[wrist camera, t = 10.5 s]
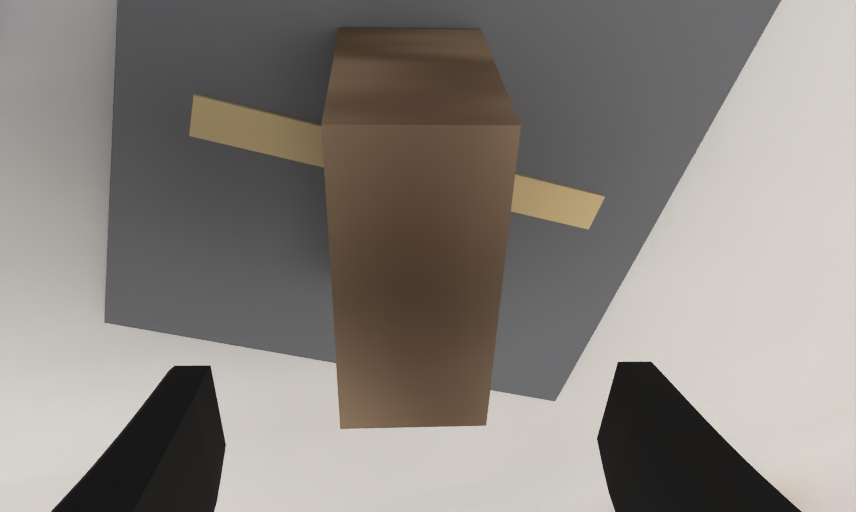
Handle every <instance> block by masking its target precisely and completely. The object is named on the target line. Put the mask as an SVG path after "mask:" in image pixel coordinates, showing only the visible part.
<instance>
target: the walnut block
mask: <svg viewBox="0 0 856 512" xmlns="http://www.w3.org/2000/svg"><path fill="white" fill-rule="evenodd" d="M321 126H322V142H323V158H324V174H325V190H326V206H327V222H328V238H329V254H330V270H331V285H332V301H333V317H334V333H335V349H336V365H337V381H338V397H339V413H340V429H349V428H393V427H438V426H482V425H486V421H487V412H488V404H489V395H490V386H491V378H492V369H493V361H494V352H495V343H496V335H497V326H498V318H499V309H500V301H501V292H502V283H503V275H504V266H505V258H506V249H507V241H508V232H509V223H510V215H511V206H512V198H513V189H514V181H515V172H516V163H517V155H518V146H519V138H520V129H521V125H520V122H519V120H518V117H517V115H516V113H515V110H514V108H513V105H512V103H511V100H510V98H509V96H508V93H507V91H506V88H505V86H504V84H503V81H502V79H501V76H500V74H499V72H498V69H497V67H496V64H495V62H494V60H493V57H492V55H491V52H490V50H489V48H488V45H487V43H486V40H485V38H484V35H483V33H482V31H481V30H473V29H407V28H341V27H339V30H338V36H337V41H336V47H335V52H334V58H333V63H332V69H331V74H330V80H329V85H328V91H327V96H326V102H325V107H324V113H323V118H322V124H321Z"/></svg>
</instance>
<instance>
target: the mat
mask: <svg viewBox="0 0 856 512" xmlns="http://www.w3.org/2000/svg"><path fill="white" fill-rule="evenodd" d="M780 1H781V0H118V7H117V32H116V56H115V80H114V104H113V129H112V153H111V177H110V201H109V225H108V250H107V274H106V298H105V323H110V324H116V325H122V326H128V327H133V328H139V329H145V330H150V331H156V332H162V333H168V334H173V335H179V336H185V337H191V338H196V339H202V340H208V341H213V342H219V343H225V344H231V345H236V346H242V347H248V348H253V349H259V350H265V351H271V352H276V353H282V354H288V355H294V356H299V357H305V358H311V359H316V360H322V361H328V362H334V363H336V349H335V333H334V317H333V301H332V285H331V270H330V254H329V238H328V222H327V206H326V190H325V174H324V158H323V142H322V126H321V124H322V118H323V113H324V107H325V102H326V96H327V91H328V85H329V80H330V74H331V69H332V63H333V58H334V52H335V47H336V41H337V36H338V30H339V27H341V28H407V29H473V30H481V31H482V33H483V35H484V38H485V40H486V43H487V45H488V48H489V50H490V52H491V55H492V57H493V60H494V62H495V64H496V67H497V69H498V72H499V74H500V76H501V79H502V81H503V84H504V86H505V88H506V91H507V93H508V96H509V98H510V100H511V103H512V105H513V108H514V110H515V113H516V115H517V117H518V120H519V122H520V125H521V129H520V138H519V146H518V155H517V163H516V172H515V181H514V189H513V198H512V206H511V215H510V223H509V232H508V241H507V249H506V258H505V266H504V275H503V283H502V292H501V301H500V309H499V318H498V326H497V335H496V343H495V352H494V361H493V369H492V378H491V386H490V390H494V391H500V392H505V393H511V394H517V395H523V396H528V397H534V398H540V399H545V400H551V401H555V400H556V399H557V397H558V395H559V393H560V392H561V390H562V388H563V386H564V385H565V383H566V381H567V379H568V377H569V376H570V374H571V372H572V370H573V369H574V367H575V365H576V363H577V361H578V360H579V358H580V356H581V354H582V353H583V351H584V349H585V347H586V345H587V344H588V342H589V340H590V338H591V337H592V335H593V333H594V331H595V330H596V328H597V326H598V324H599V322H600V321H601V319H602V317H603V315H604V314H605V312H606V310H607V308H608V306H609V305H610V303H611V301H612V299H613V298H614V296H615V294H616V292H617V290H618V289H619V287H620V285H621V283H622V282H623V280H624V278H625V276H626V274H627V273H628V271H629V269H630V267H631V266H632V264H633V262H634V260H635V259H636V257H637V255H638V253H639V251H640V250H641V248H642V246H643V244H644V243H645V241H646V239H647V237H648V235H649V234H650V232H651V230H652V228H653V227H654V225H655V223H656V221H657V219H658V218H659V216H660V214H661V212H662V211H663V209H664V207H665V205H666V203H667V202H668V200H669V198H670V196H671V195H672V193H673V191H674V189H675V188H676V186H677V184H678V182H679V180H680V179H681V177H682V175H683V173H684V172H685V170H686V168H687V166H688V164H689V163H690V161H691V159H692V157H693V156H694V154H695V152H696V150H697V148H698V147H699V145H700V143H701V141H702V140H703V138H704V136H705V134H706V132H707V131H708V129H709V127H710V125H711V124H712V122H713V120H714V118H715V117H716V115H717V113H718V111H719V109H720V108H721V106H722V104H723V102H724V101H725V99H726V97H727V95H728V93H729V92H730V90H731V88H732V86H733V85H734V83H735V81H736V79H737V77H738V76H739V74H740V72H741V70H742V69H743V67H744V65H745V63H746V62H747V60H748V58H749V56H750V54H751V53H752V51H753V49H754V47H755V46H756V44H757V42H758V40H759V38H760V37H761V35H762V33H763V31H764V30H765V28H766V26H767V24H768V22H769V21H770V19H771V17H772V15H773V14H774V12H775V10H776V8H777V6H778V5H779V3H780Z"/></svg>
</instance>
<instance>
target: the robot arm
mask: <svg viewBox="0 0 856 512" xmlns="http://www.w3.org/2000/svg"><path fill="white" fill-rule="evenodd" d="M597 440H598V445H599V450H600V455H601V460H602V464H603V469H604V473H605V478H606V482H607V486H608V490H609V494H610V497H611V500H612V503H613V506H614V509H615V512H801V511H800V510H799V509H798V508H797V507H795V506H794V505H793V504H792V503H791V502H790V501H789V500H788V499H787V498H785V497H784V496H783V495H782V494H781V493H780V492H779V491H778V490H777V489H776V488H774V487H773V486H772V485H771V484H770V483H769V482H768V481H767V480H766V479H765V478H764V477H762V476H761V475H760V474H759V473H758V472H757V471H756V470H755V469H754V468H753V467H752V466H751V465H750V464H749V463H748V462H747V461H746V460H745V459H744V458H743V457H742V456H741V455H740V454H739V453H738V452H737V451H736V450H735V449H734V448H733V447H732V446H731V445H730V444H729V443H728V442H727V441H726V440H725V439H724V438H723V437H722V436H721V435H720V434H719V433H718V432H717V431H716V430H715V429H714V428H713V427H712V426H711V425H710V424H709V423H708V422H707V421H706V420H705V419H704V418H703V417H702V416H701V414H700V413H699V412H698V411H697V410H696V409H695V408H694V407H693V406H692V405H691V404H690V403H689V402H688V401H687V400H686V398H685V397H684V396H683V395H682V394H681V393H680V392H679V391H678V390H677V389H676V388H675V387H674V386H673V385H672V383H671V382H670V381H669V380H668V379H667V378H666V377H665V376H664V375H663V374H662V373H661V372H660V371H659V369H658V368H657V367H656V366H655V365H654V364H653V363H652V362H618V364H617V368H616V372H615V375H614V379H613V383H612V386H611V390H610V394H609V397H608V401H607V405H606V408H605V412H604V416H603V419H602V423H601V427H600V430H599V434H598V438H597ZM225 446H226V444H225V439H224V434H223V429H222V424H221V418H220V413H219V408H218V403H217V398H216V392H215V387H214V382H213V377H212V372H211V366H174V367H173V368H172V369H171V370H169V371H168V373H167V374H166V375H165V377H164V378H163V379H162V381H161V382H160V383H159V385H158V386H157V387H156V389H155V390H154V391H153V393H152V394H151V395H150V397H149V398H148V399H147V400H146V402H145V403H144V404H143V406H142V407H141V408H140V409H139V411H138V412H137V413H136V414H135V416H134V417H133V418H132V420H131V421H130V422H129V423H128V425H127V426H126V427H125V428H124V430H123V431H122V432H121V433H120V434H119V436H118V437H117V438H116V439H115V440H114V442H113V443H112V444H111V445H110V446H109V447H108V449H107V450H106V451H105V452H104V453H103V455H102V456H101V457H100V458H99V459H98V461H97V462H96V463H95V464H94V465H93V466H92V468H91V469H90V470H89V471H88V472H87V473H86V474H85V476H84V477H83V478H82V479H81V480H80V481H79V482H78V483H77V484H76V485H75V486H74V488H73V489H72V490H71V491H70V492H69V493H68V494H67V495H66V496H65V497H64V498H63V499H62V501H61V502H60V503H59V504H58V505H57V506H56V507H55V508H54V509H53V510H52V511H51V512H214V509H215V506H216V502H217V496H218V490H219V485H220V479H221V472H222V466H223V459H224V452H225Z"/></svg>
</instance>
